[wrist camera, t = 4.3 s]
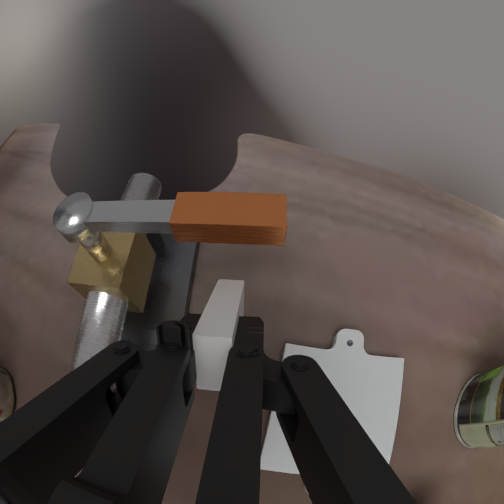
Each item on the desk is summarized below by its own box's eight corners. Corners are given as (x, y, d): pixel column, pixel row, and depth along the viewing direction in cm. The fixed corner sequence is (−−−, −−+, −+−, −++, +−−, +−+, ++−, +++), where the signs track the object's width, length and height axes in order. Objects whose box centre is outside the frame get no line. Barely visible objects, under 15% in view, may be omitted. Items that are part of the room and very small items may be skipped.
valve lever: (58, 242, 18) (45, 228, 16) (73, 208, 19) (63, 192, 18) (284, 252, 17) (287, 233, 15) (283, 209, 19) (285, 189, 17)
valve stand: (177, 401, 25) (114, 390, 13) (80, 379, 25) (-7, 346, 13) (203, 222, 36) (184, 133, 24) (121, 221, 36) (82, 144, 25)
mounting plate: (288, 324, 29) (290, 319, 28) (397, 340, 28) (404, 336, 26) (252, 485, 20) (252, 490, 18) (373, 492, 19) (380, 496, 17)
